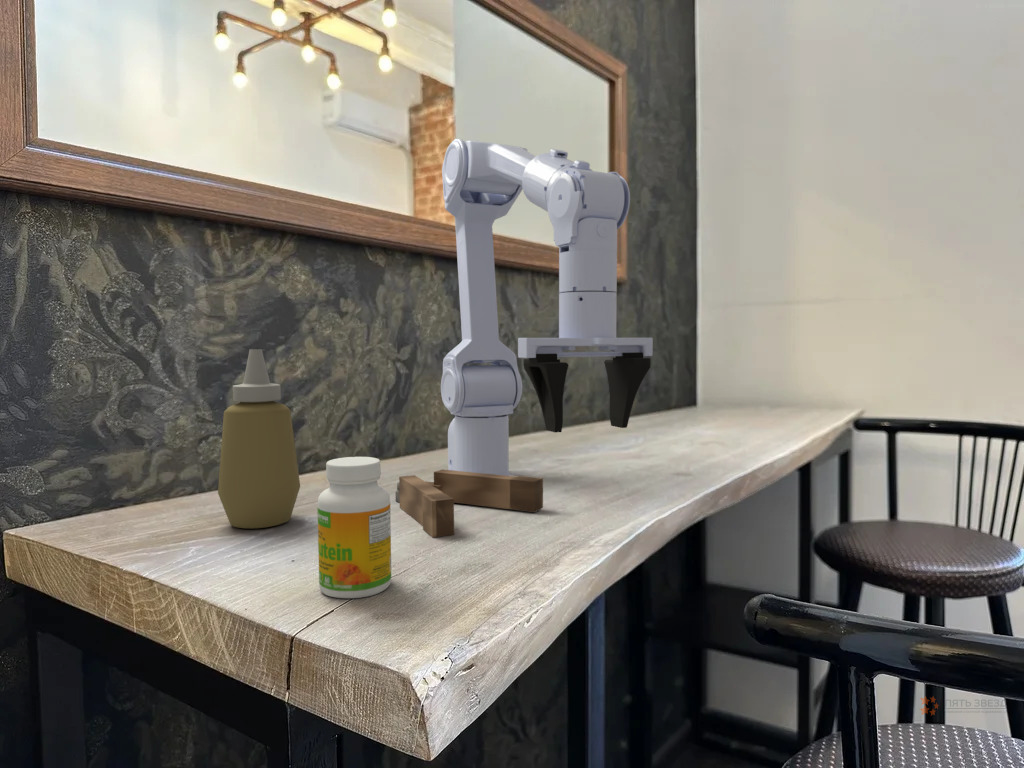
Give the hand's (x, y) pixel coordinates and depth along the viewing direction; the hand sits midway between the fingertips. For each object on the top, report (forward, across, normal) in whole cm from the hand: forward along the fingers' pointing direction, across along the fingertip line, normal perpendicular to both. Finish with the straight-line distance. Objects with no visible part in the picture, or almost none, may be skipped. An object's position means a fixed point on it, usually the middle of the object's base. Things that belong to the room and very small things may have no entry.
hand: (587, 428), depth 69 cm
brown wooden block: (+10, -14, +11) cm, 20 cm away
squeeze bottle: (+10, -30, +15) cm, 35 cm away
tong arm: (+10, -8, +13) cm, 18 cm away
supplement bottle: (+10, -25, -8) cm, 28 cm away
